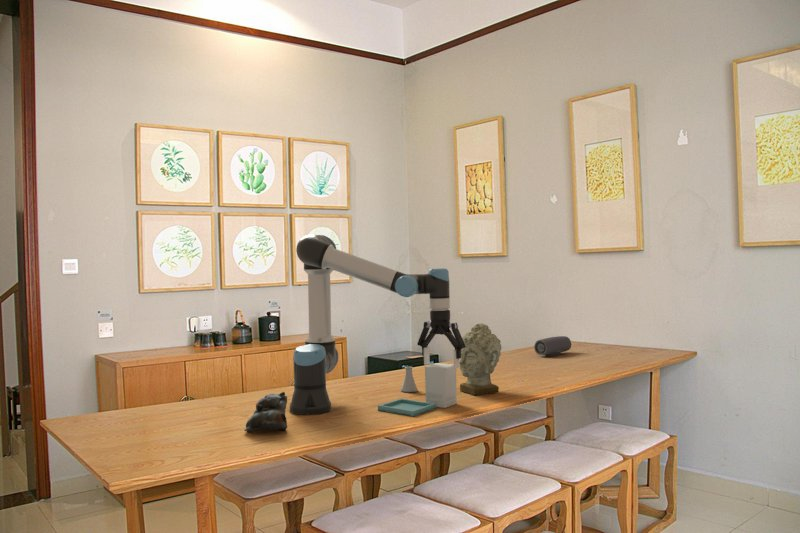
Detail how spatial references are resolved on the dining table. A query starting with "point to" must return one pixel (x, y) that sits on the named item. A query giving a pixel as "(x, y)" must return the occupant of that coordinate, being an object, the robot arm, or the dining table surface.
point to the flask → (409, 381)
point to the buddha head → (479, 360)
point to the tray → (407, 407)
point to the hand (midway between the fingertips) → (441, 366)
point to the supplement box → (441, 384)
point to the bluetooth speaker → (552, 345)
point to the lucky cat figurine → (269, 413)
